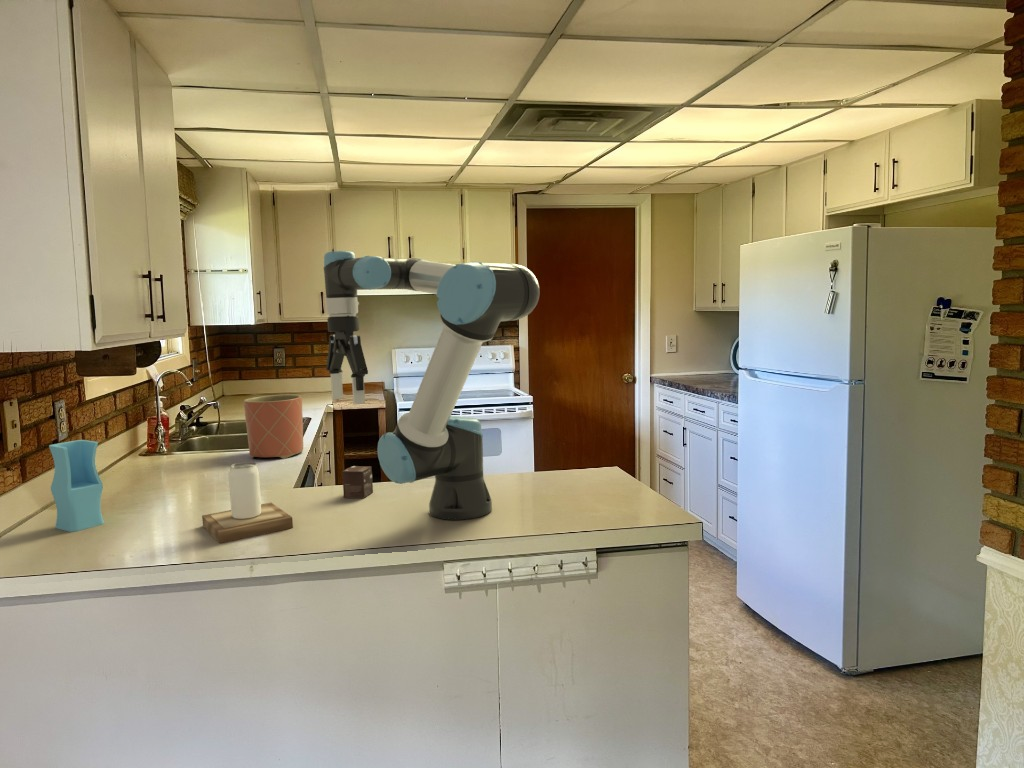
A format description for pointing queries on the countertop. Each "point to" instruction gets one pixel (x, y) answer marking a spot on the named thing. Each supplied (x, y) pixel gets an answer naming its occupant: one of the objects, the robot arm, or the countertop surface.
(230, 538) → the board
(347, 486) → the box
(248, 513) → the can
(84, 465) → the vase
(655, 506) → the countertop surface
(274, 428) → the planter
